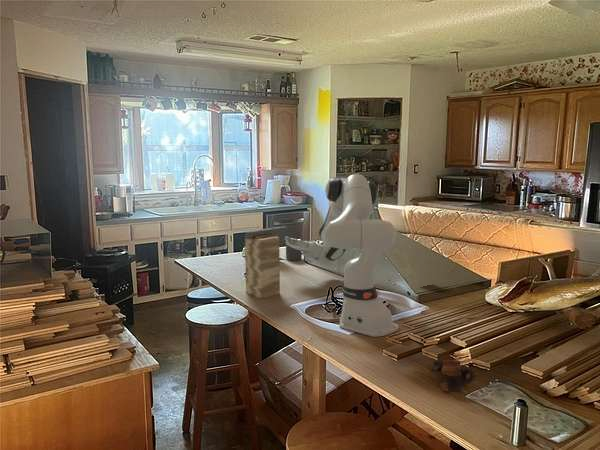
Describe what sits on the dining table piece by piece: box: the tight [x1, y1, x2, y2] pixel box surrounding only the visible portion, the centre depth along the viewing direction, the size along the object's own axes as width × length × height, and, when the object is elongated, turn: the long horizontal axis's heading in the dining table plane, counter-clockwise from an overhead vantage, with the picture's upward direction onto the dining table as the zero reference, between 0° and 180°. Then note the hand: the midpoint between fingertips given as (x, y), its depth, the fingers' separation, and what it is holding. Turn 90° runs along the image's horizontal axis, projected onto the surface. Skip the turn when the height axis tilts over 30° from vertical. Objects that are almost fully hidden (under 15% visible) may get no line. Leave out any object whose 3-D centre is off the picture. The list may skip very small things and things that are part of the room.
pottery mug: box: [430, 359, 477, 393], centre depth 133 cm, size 12×10×8 cm
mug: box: [285, 237, 303, 262], centre depth 280 cm, size 14×9×12 cm
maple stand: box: [244, 234, 281, 300], centre depth 214 cm, size 12×10×27 cm
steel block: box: [244, 225, 288, 240], centre depth 213 cm, size 3×21×3 cm, turn 130°
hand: (292, 239), depth 223 cm, fingers open, 8 cm apart
